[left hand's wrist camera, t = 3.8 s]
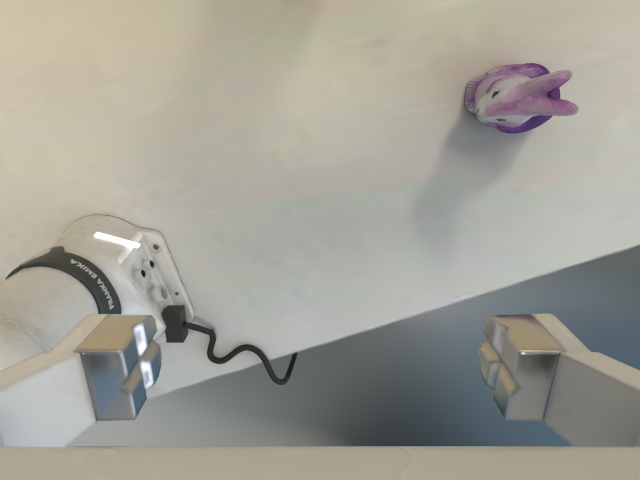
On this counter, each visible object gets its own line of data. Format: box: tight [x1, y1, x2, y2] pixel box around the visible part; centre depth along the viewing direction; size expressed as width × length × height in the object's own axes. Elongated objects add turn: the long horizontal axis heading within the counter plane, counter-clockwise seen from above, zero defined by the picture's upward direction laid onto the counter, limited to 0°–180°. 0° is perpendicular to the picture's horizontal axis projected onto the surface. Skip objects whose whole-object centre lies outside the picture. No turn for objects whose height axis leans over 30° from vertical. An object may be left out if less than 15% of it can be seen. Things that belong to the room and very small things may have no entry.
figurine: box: [465, 63, 578, 133], centre depth 47 cm, size 9×10×15 cm
